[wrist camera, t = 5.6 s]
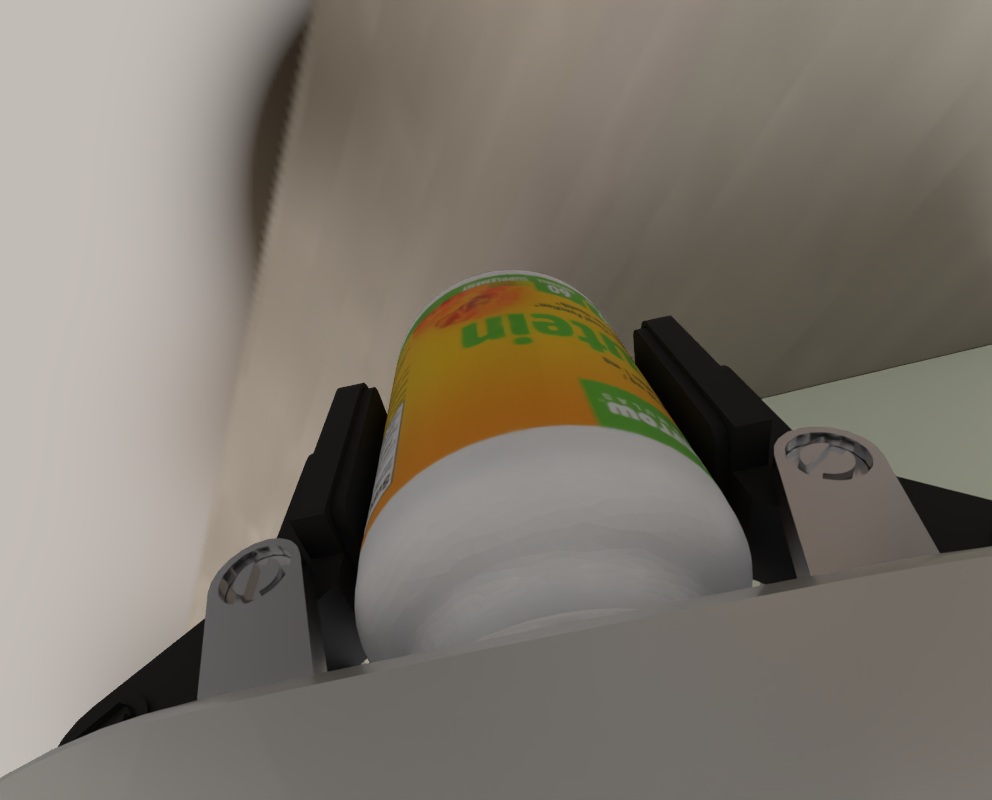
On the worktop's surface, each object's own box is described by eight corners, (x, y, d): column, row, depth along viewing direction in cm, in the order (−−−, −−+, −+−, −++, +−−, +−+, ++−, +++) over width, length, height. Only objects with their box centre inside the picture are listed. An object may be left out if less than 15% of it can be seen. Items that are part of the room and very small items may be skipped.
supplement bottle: (644, 287, 12) (1084, 735, 4) (577, 467, 15) (746, 962, 6) (412, 242, 11) (304, 711, 3) (386, 443, 14) (291, 990, 5)
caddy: (630, 429, 23) (798, 694, 12) (1026, 336, 23) (1533, 524, 12) (649, 647, 31) (762, 921, 20) (943, 579, 31) (1208, 819, 20)
